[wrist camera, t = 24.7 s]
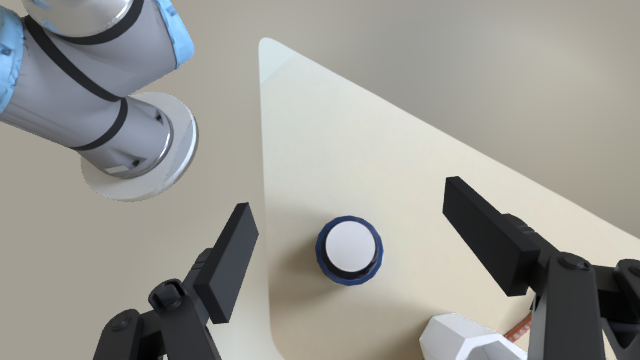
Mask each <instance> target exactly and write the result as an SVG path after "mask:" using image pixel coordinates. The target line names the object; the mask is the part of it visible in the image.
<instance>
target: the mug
mask: <svg viewBox="0 0 640 360" xmlns="http://www.w3.org/2000/svg"><path fill="white" fill-rule="evenodd" d="M419 342H420V346H421V349H422V353H423V356H424V360H527V356H528V354H527V353H526V352H524V351H523V350H521V349H520V348H519V347H517V346H516V345H514V344H513V343H512V342H510V341H509V340H508V339H506V338H505V337H503V336H502V335H501V334H499V333H497V332H495V331H493V330H491V329H489V328H487V327H485V326H483V325H481V324H479V323H476V322H474V321H472V320H470V319H468V318H466V317H464V316H462V315H460V314H457V313H455V312H454V313H449V314H443V315H438V316H432V317H431V319H430V321H429V322H428V324H427V326H426V328H425V330H424V332H423V333H422V335H421V337H420V339H419Z"/></svg>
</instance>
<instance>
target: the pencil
mask: <svg viewBox="0 0 640 360" xmlns="http://www.w3.org/2000/svg"><path fill="white" fill-rule="evenodd" d="M531 319H532V313H531V314H530V315H529V316H528V317H527V318H526V319H524V320H523V321H522V322H521V323H520V324H518V325H517V326H516V327H515V328H514V329H513V330H511V331H510V332H509V333H508V334H507V335H505V336H504V337H505V338H506V339H508V340H509V341H510V342H512V343H514V342H515V341H516V340H517V339H519V338H520V337H521V336H522V335H523V334H524V333H526V332H527V331H528V330H529V329H530V328H531Z"/></svg>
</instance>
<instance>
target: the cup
mask: <svg viewBox="0 0 640 360" xmlns="http://www.w3.org/2000/svg"><path fill="white" fill-rule="evenodd" d="M346 221H353V222H357V223H360V224H362V225H363V226H365V227H366V228H367V229H368V230H369V231H370V233H371V234H372V236H373V239H374V242H375V252H374V256H373V258H372V260H371V262H370V263H369V264H368V265H367V266H366V267H365V268H363V269H361V270H358V271H354V272H349V271H344V270H341V269H339V268H337V267H336V266H335V265H334V264H333V263H332V262H331V261H330V259H329V257H328V255H327V251H326V240H327V237H328V234H329V232H330V231H331V230H332V229H333V228H334V227H335V226H336V225H338V224H339V223H342V222H346ZM315 250H316V257H317V262H318V264H319V266H320V267H321V269H322V271H323V273H324V274H325V275H326V276H328V277H329V278H330V279H331V280H333V281H334V282H336V283H339V284H343V285H346V286H352V285H359V284H363V283H364V282H366V281H368V280H369V279H371V278H372V277H373V276H374V275H375V274H376V272H377V271H378V269H379V268H380V266H381V264H382V258H383V252H384V250H383V246H382V241H381V238H380V236H379V234H378V233H377V231H376V230H375V228H374V227H373V226H372V225H371V224H370V223H368V222H367V221H365V220H364V219H362V218H359V217H354V216H343V217H337V218H335V219H333V220H332V221H330V222H329V223H327V224H326V225H325V226H324V228H323V229H322V230H321V232H320V233H319V235H318V238H317V242H316V246H315Z"/></svg>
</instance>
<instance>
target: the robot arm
mask: <svg viewBox="0 0 640 360" xmlns="http://www.w3.org/2000/svg"><path fill="white" fill-rule="evenodd" d="M22 2H23V5H24V7H25V9H26V11H27V12H28V14H29V15H27V16H25V17H22V18H20V17H19V16H18V14H17V13H15V12H14V11H12V10H9V9H7V8H5V7H3V6H0V121H1V122H4V123H7V124H9V125H12V126H14V127H17V128H20V129H22V130H25V131H27V132H30V133H32V134H35V135H37V136H40V137H42V138H45V139H48V140H50V141H53V142H55V143H58V144H60V145H63V146H65V147H68V148H71V149H73V150H75V151H77V152H78V153H79V154H80V155H81V156H83V157H84V158H85V159H86V160H88V161H89V162H90V163H91V164H92V165H94V166H95V167H96V168H97V169H99V170H100V171H102V172H104V173H105V174H108V175H110V176H113V177H116V178H120V179H131V178H136V177H139V176H142V175H144V174H146V173H148V172H150V171H151V170H153V169H154V168H155V167H157V166H158V165H159V164H160V163H161V162H162V161H163V159H164V158H165V157H166V155H167V154H168V152H169V150H170V148H171V146H172V142H173V138H174V129H173V124H172V122H171V120H170V118H169V117H168V116H167V115H166V114H165V113H164V112H163V111H161V110H160V109H159V108H157V107H155V106H153V105H151V104H149V103H146V102H143V101H141V100H138V99H135V98H132V97H130V96H128V95H130V94H131V93H133V92H135V91H137V90H139V89H140V88H142V87H144V86H146V85H148V84H150V83H151V82H153V81H155V80H157V79H159V78H161V77H162V76H164V75H166V74H168V73H170V72H172V71H173V70H176V69H177V68H179V66H180V65H181V64H183V63H185V62H186V61H187V60H189V59H190V58H191V57H192V56H193V54H194V45H193V42H192V40H191V38H190V36H189V34H188V32H187V30H186V28H185V26H184V24H183V22H182V21H181V19H180V17H179V15H178V14H177V12H176V11H175V10H174V7H173V5H172V4H171V2H170V0H22ZM442 213H443V214H444V215H445V217H446V218H447V219H448V220H449V222H450V223H451V224H452V226H453V227H454V228H455V229H456V231H457V232H458V233H459V235H460V236H461V237H462V238H463V240H464V241H465V242H466V244H467V245H468V246H469V247H470V249H471V250H472V251H473V253H474V254H475V255H476V256H477V258H478V259H479V260H480V262H481V263H482V264H483V265H484V267H485V268H486V269H487V271H488V272H489V273H490V274H491V276H492V277H493V278H494V280H495V281H496V282H497V283H498V285H499V286H500V287H501V289H502V290H503V291H504V292H505V294H506V295H507V296H508V297H510V296H521V295H526V292H527V289H528V287H529V286H530V287H531V289H532V290H533V291H534V292H535V293H536V294H535V296H534V299H533V302H532V304H531V307H530V309H529V310H532V319H531V328H530V337H529V347H528V356H527V360H606V358H605V350H604V341H603V333H602V329H603V331H604V333H605V335H606V337H607V339H608V341H609V343H610V345H611V347H612V349H613V351H614V354H615V356H616V358H617V360H640V261H639V260H635V259H623V260H620V261H619V262H618V263H617V265H616V267H615V268H614V267H606V266H597V265H591V264H590V263H589V262H588V261H587V260H585V259H583V258H582V257H580V256H577V255H574V254H572V253H567V252H560V251H559V250H558V249H556V248H555V247H554V246H553V245H551V244H550V243H549V242H548V241H547V240H545V239H544V238H543V237H542V236H540V235H539V234H538V233H537V232H535V231H534V230H533V229H532V228H531V227H528V225H527V224H526V223H525V222H523V221H522V220H521V219H519V218H517V217H515V216H513V215H511V214H501V213H500V212H499V211H498V210H496V209H495V208H494V207H493V206H492V205H491V204H490V203H488V202H487V201H486V200H485V199H484V198H483V197H482V196H480V195H479V194H478V193H477V192H476V191H475V190H474V189H472V188H471V187H470V186H469V185H468V184H467V183H466V182H464V181H463V180H462V179H461V178H460V177H459V176H455V177H447V178H446V183H445V193H444V202H443V212H442ZM258 235H259V233H258V231H257V227H256V224H255V221H254V218H253V215H252V212H251V209H250V206H249V203H248V202H247V203H239V204H237V205H236V207H235V209H234V211H233V213H232V214H231V216H230V218H229V220H228V222H227V223H226V225H225V227H224V229H223V231H222V233H221V234H220V236H219V238H218V240H217V242H216V243H215V245H214V247H213V248H206V249H205V250H204V251H203V252H202V253H201V254H200V255H199V256H198V258H197V259H196V261H195V264H194V265H193V266H192V268H191V270H190V271H189V273H188V275H187V276H186V278H185V279H184V281H183V283H182V282H181V281H180V280H179V279H170V280H167V281H164V282H162V283H161V284H159V285H158V286H157V287H155V288H154V289H153V290H152V291H151V293H150V295H149V297H148V301H149V303H150V304H151V306H152V307H153V309H154V310H152V311H149V312H146V313H143V314H139V312H138V311H137V310H135V309H129V310H125V311H123V312H121V313H119V314H117V315H116V316H115V317H114V318H112V319H111V320H110V321H109V322H108V323H107V324H106V325H105V327H104V329H103V331H102V334H101V337H100V340H99V343H98V346H97V348H96V352H95V354H94V357H93V360H163V355H165V354H167V357H168V360H222V359H221V357H220V355H219V352H218V350H217V348H216V346H215V343H214V341H213V339H212V336H211V334H210V333H209V330H208V328H207V326H206V323H207V321H208V319H209V317H210V319H211V321H212V323H213V324H220V323H229V320H230V317H231V314H232V311H233V307H234V305H235V302H236V299H237V296H238V293H239V290H240V288H241V285H242V282H243V278H244V276H245V273H246V270H247V267H248V264H249V261H250V258H251V255H252V252H253V249H254V246H255V243H256V240H257V237H258Z"/></svg>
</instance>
